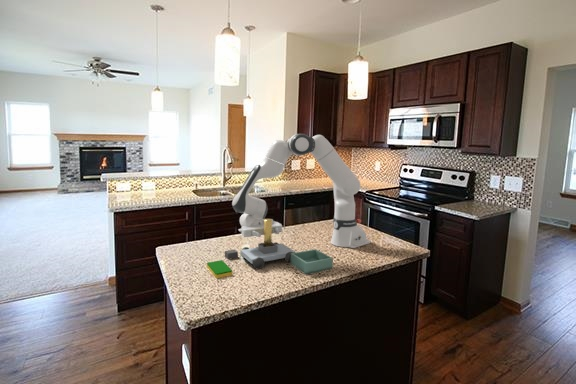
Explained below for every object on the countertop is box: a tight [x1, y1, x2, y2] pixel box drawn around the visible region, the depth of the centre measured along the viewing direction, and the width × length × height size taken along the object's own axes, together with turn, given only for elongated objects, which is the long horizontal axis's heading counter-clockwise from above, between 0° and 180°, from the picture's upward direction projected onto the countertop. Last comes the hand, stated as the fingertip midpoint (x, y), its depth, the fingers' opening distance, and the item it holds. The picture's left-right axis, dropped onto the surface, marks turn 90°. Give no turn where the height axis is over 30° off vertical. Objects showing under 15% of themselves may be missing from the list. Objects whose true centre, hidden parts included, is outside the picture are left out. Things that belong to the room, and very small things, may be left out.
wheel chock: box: [224, 249, 239, 260], centre depth 156 cm, size 5×4×3 cm
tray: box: [290, 248, 334, 276], centre depth 145 cm, size 14×14×5 cm
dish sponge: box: [206, 259, 233, 279], centre depth 140 cm, size 7×14×2 cm, turn 29°
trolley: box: [239, 241, 296, 270], centre depth 152 cm, size 22×16×8 cm
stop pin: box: [263, 218, 273, 247], centre depth 151 cm, size 4×4×15 cm
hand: (268, 233), depth 150 cm, fingers open, 8 cm apart
